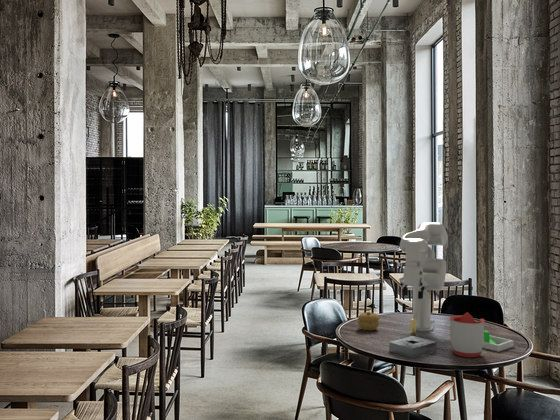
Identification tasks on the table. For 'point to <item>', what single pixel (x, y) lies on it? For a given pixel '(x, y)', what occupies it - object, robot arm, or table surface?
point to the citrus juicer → (466, 335)
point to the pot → (368, 321)
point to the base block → (412, 346)
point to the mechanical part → (488, 338)
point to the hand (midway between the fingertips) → (412, 297)
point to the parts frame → (501, 345)
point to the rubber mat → (409, 336)
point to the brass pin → (413, 327)
